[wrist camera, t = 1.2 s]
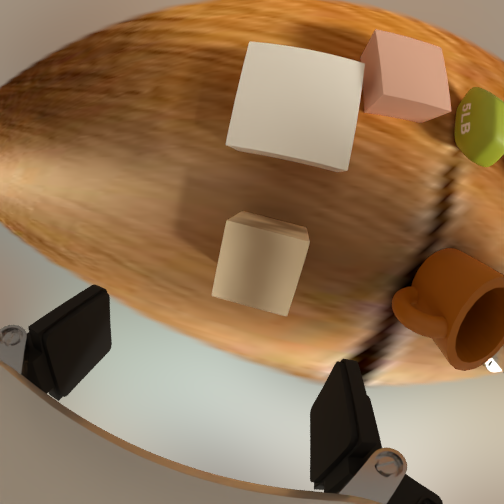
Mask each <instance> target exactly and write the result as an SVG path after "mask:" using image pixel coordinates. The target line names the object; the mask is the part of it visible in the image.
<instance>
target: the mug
mask: <svg viewBox="0 0 504 504" xmlns="http://www.w3.org/2000/svg"><path fill="white" fill-rule="evenodd" d="M392 309H393V312H394V314H395V316H396V317H397V319H398V320H399V321H400V322H401V323H402V324H403V325H404V326H405V327H407V328H408V329H410V330H412V331H413V332H415V333H417V334H420V335H422V336H426V337H430V338H432V339H433V340H434V342H435V343H436V345H437V346H438V347H439V349H440V350H441V352H442V353H443V354H444V356H445V357H446V359H447V360H448V362H449V363H450V364H451V365H452V366H453V367H454V368H455V369H458V370H463V371H466V370H470V369H475V368H477V367H479V366H480V365H482V364H484V363H486V362H487V361H488V360H489V359H491V358H492V357H493V356H494V355H495V354H496V353H497V352H498V351H499V350H500V348H501V347H502V346H503V345H504V275H502V274H501V273H499V272H497V271H496V270H494V269H492V268H490V267H489V266H487V265H485V264H483V263H482V262H480V261H478V260H476V259H475V258H473V257H471V256H469V255H467V254H465V253H463V252H462V251H460V250H458V249H454V248H445V249H442V250H440V251H437V252H435V253H434V254H432V255H431V256H430V257H428V258H427V259H426V260H425V261H424V263H423V264H422V265H421V267H420V268H419V269H418V271H417V273H416V275H415V277H414V279H413V282H412V286H411V287H406V288H402V289H400V290H399V291H397V292H396V293H395V295H394V296H393V299H392Z"/></svg>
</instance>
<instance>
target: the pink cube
mask: <svg viewBox="0 0 504 504" xmlns="http://www.w3.org/2000/svg"><path fill="white" fill-rule="evenodd" d="M360 58H361V63H365V68H364V76H363V97H364V113H371V114H377V115H383V116H389V117H394V118H400V119H405V120H409V121H414V122H418V123H423V122H426V121H428V120H431V119H433V118H436V117H438V116H441V115H444V114H446V113H449V112H451V103H450V94H449V87H448V80H447V74H446V69H445V63H444V58H443V54H442V49H441V48H440V47H437V46H434V45H432V44H429V43H426V42H422V41H419V40H416V39H413V38H409V37H406V36H402V35H398V34H394V33H390V32H386V31H381V30H376V29H375V31H374V33H373V35H372V36H371V38H370V40H369V42H368V44H367V46H366V48H365V50H364V52H363V53H362V55H361V57H360Z"/></svg>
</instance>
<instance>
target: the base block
mask: <svg viewBox="0 0 504 504" xmlns="http://www.w3.org/2000/svg"><path fill="white" fill-rule="evenodd" d="M364 68H365V63H361V62H358V61H355V60H351V59H347V58H344V57H340V56H336V55H332V54H328V53H323V52H318V51H314V50H309V49H303V48H298V47H291V46H285V45H278V44H270V43H260V42H249V45H248V49H247V53H246V57H245V61H244V65H243V69H242V73H241V77H240V81H239V85H238V89H237V94H236V98H235V102H234V107H233V111H232V116H231V121H230V125H229V130H228V135H227V140H226V144H225V145H227V146H229V147H231V148H233V149H235V150H237V151H241V152H247V153H253V154H258V155H263V156H269V157H274V158H279V159H283V160H288V161H293V162H297V163H301V164H306V165H310V166H314V167H318V168H322V169H326V170H330V171H334V172H343V171H348V166H349V161H350V156H351V151H352V146H353V140H354V135H355V129H356V123H357V117H358V111H359V105H360V98H361V91H362V84H363V76H364Z"/></svg>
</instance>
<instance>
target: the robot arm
mask: <svg viewBox="0 0 504 504" xmlns="http://www.w3.org/2000/svg"><path fill="white" fill-rule="evenodd" d="M111 344H112V343H111V328H110V299H109V294H108V293H107V291H106V289H104V288H102V287H100V286H97V285H92V286H90V287H88V288H87V289H85V290H84V291H82V292H80V293H79V294H77V295H76V296H74V297H73V298H71V299H69V300H68V301H66V302H65V303H63V304H62V305H60V306H59V307H57V308H55V309H54V310H52V311H51V312H50V313H48V314H46V315H45V316H43V317H42V318H40V319H39V320H37V321H36V322H35V323H33V324H32V325H30V326H29V333H26V331H25V330H24V329H23V328H22V327H20V326H17V325H8V326H5V327H3V328H2V329H0V504H443V503H442V500H441V499H440V497H439V496H438V495H437V494H435V493H434V492H432V491H430V490H429V489H427V488H426V487H424V486H422V485H421V484H419V483H418V482H417V481H415V480H414V479H412V478H411V477H409V476H408V475H406V474H405V473H406V471H407V462H406V460H405V458H404V457H403V455H402V454H401V453H400V452H398V451H397V450H394V449H391V448H382V446H381V441H380V437H379V433H378V429H377V424H376V420H375V416H374V412H373V408H372V405H371V401H370V398H369V396H367V395H366V391H365V386H364V383H363V379H362V375H361V372H360V368H359V365H358V362H357V361H353V360H348V359H342V360H341V362H336V364H335V365H334V367H333V369H332V371H331V373H330V375H329V377H328V379H327V381H326V383H325V384H324V386H323V388H322V390H321V392H320V394H319V395H318V397H317V399H316V401H315V402H314V404H313V406H312V408H311V412H310V438H311V439H310V444H311V445H310V454H311V455H310V456H311V458H310V481H311V482H314V489H319V490H324V493H323V492H313V491H303V490H294V489H286V488H279V487H272V486H266V485H260V484H255V483H250V482H244V481H239V480H235V479H231V478H227V477H223V476H218V475H215V474H211V473H208V472H204V471H201V470H197V469H195V468H192V467H188V466H185V465H182V464H179V463H177V462H174V461H171V460H168V459H166V458H163V457H161V456H158V455H156V454H153V453H151V452H148V451H146V450H144V449H141V448H139V447H137V446H135V445H133V444H130V443H128V442H126V441H124V440H122V439H120V438H118V437H116V436H114V435H112V434H110V433H108V432H107V431H105V430H103V429H101V428H99V427H97V426H96V425H94V424H92V423H90V422H89V421H87V420H85V419H83V418H82V417H80V416H79V415H77V414H76V413H74V412H72V411H71V410H69V409H68V408H66V407H65V406H63V405H62V404H60V403H59V402H57V401H56V400H55V399H57V400H58V401H59V400H60V399H61V398H62V397H63V396H64V397H65V396H67V395H68V394H69V393H70V392H71V391H72V390H73V388H75V387H76V385H77V384H78V383H79V382H80V381H81V380H82V379H83V378H84V377H85V376H86V375H87V374H88V373H89V372H90V370H92V369H93V368H94V366H95V365H96V364H97V363H98V362H99V361H100V360H101V359H102V358H103V357H104V356H105V355H106V354H107V353H108V352H109V351H110V349H111ZM484 365H485V367H486V368H487V369H488V370H489V371H491V372H499V371H503V372H504V345H503V346H502V347H501V348H500V350H499V351H498V352H497V353H496V354H495V355H494V356H493V357H492V358H491V359H489V360H488V361H487V362H486V363H484ZM48 392H49V394H50V395H51V396H52V397H54V398H55V399H53V398H52V397H50V396H49V395H47V393H48Z"/></svg>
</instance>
